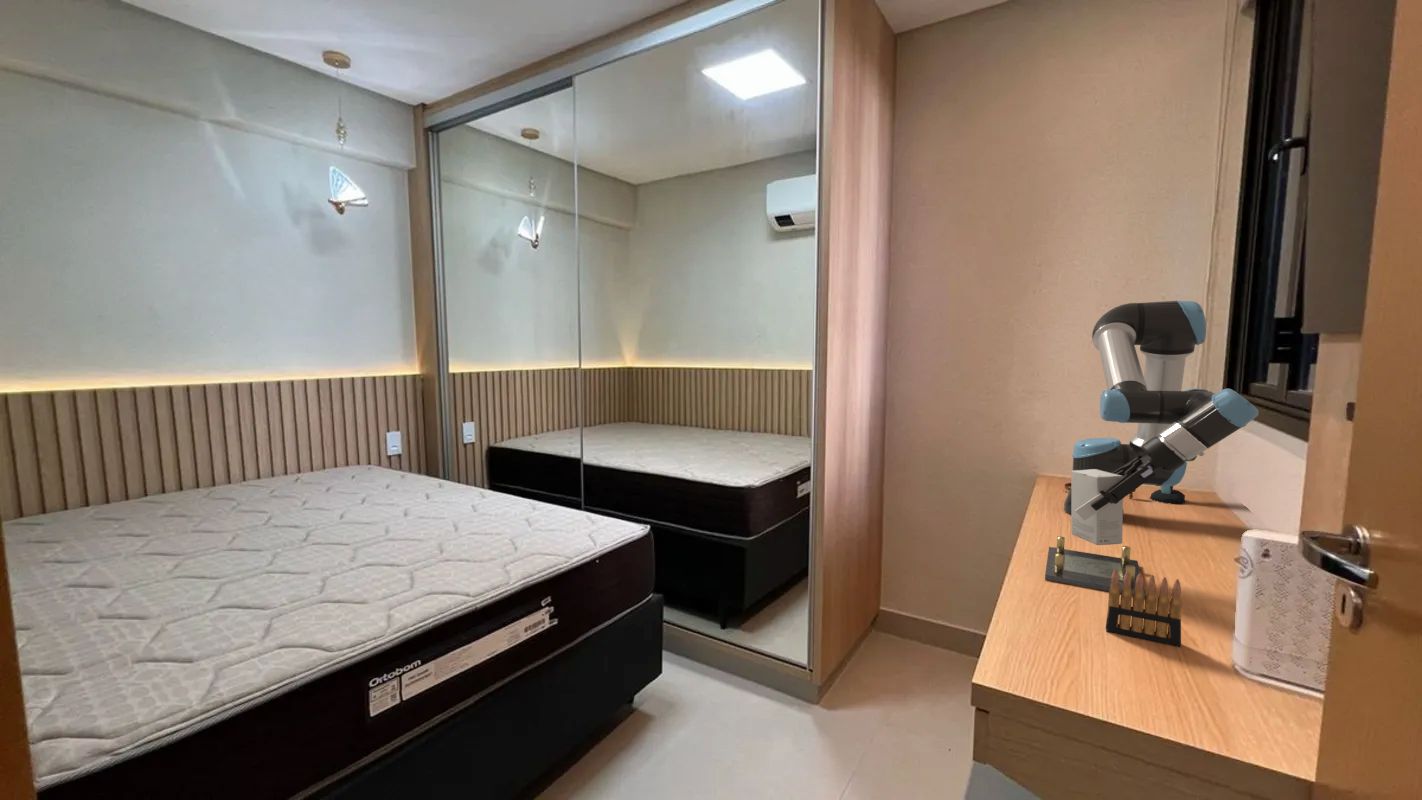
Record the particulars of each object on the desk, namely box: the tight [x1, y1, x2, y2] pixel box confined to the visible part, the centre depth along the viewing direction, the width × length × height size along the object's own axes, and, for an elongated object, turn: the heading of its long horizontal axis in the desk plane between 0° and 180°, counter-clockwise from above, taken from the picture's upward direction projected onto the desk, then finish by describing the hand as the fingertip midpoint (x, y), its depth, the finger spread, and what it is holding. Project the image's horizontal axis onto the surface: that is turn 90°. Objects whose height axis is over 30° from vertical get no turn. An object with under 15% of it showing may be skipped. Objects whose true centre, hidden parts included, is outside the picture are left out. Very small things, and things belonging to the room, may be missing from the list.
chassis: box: [1044, 535, 1147, 599], centre depth 128 cm, size 20×18×5 cm
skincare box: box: [1070, 469, 1124, 546], centre depth 127 cm, size 8×7×16 cm
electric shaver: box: [1149, 455, 1198, 505], centre depth 182 cm, size 9×12×20 cm
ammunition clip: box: [1105, 569, 1183, 648], centre depth 100 cm, size 11×2×12 cm, turn 58°
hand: (1079, 509), depth 128 cm, fingers closed on skincare box, 10 cm apart
